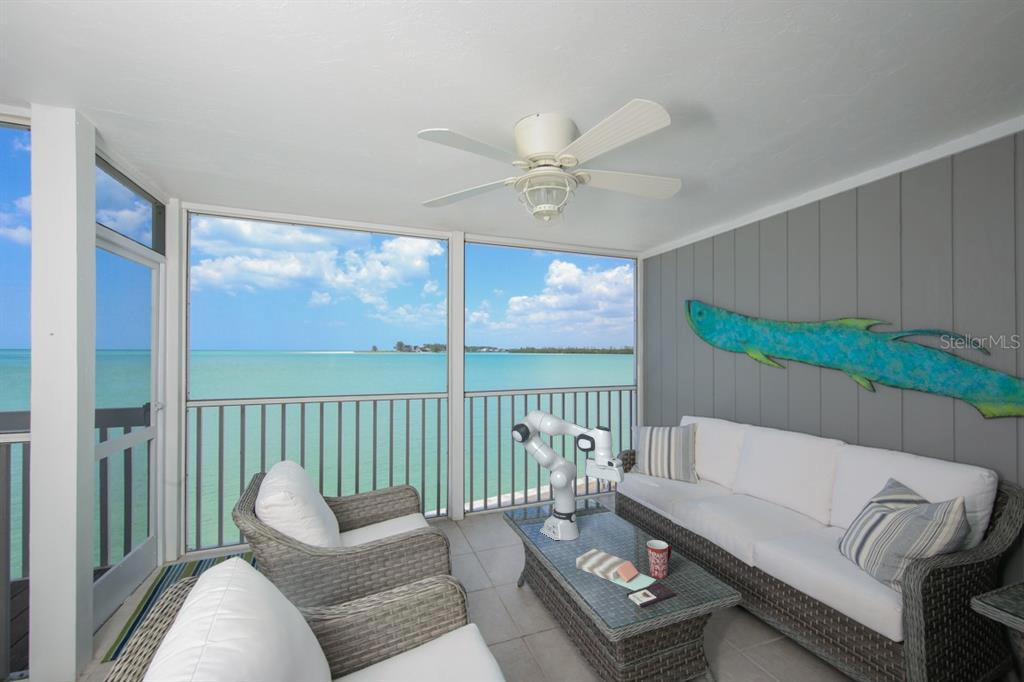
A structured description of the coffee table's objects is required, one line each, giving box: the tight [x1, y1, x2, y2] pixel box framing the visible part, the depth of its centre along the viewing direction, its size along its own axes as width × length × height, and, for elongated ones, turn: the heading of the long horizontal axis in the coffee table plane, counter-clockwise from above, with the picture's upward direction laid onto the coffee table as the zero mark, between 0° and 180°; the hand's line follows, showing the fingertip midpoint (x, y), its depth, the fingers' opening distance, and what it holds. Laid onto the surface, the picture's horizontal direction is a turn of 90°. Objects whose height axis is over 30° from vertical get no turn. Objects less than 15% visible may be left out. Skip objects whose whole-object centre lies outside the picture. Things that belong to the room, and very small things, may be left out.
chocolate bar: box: [626, 582, 677, 609], centre depth 179 cm, size 9×1×18 cm
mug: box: [646, 539, 673, 579], centre depth 198 cm, size 13×9×14 cm
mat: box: [610, 572, 657, 591], centre depth 192 cm, size 14×14×1 cm
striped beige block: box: [575, 548, 629, 582], centre depth 203 cm, size 20×14×4 cm
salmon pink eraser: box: [616, 560, 640, 583], centre depth 194 cm, size 6×9×2 cm
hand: (604, 488), depth 214 cm, fingers closed
